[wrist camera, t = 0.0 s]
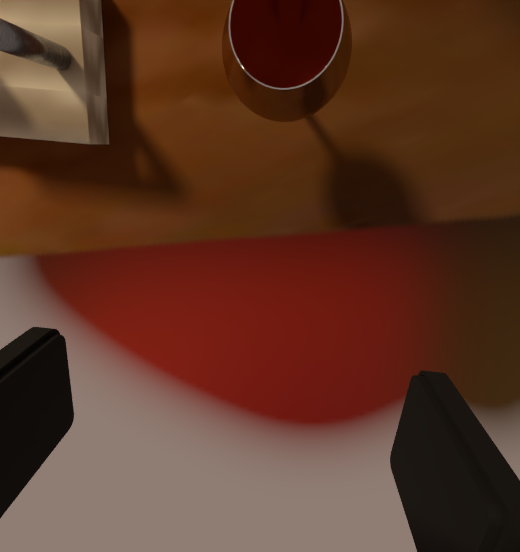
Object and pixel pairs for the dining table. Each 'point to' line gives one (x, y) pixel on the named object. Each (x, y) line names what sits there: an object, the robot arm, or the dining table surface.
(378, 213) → the dining table surface
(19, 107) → the socket block
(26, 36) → the grey bar
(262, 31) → the wineglass
